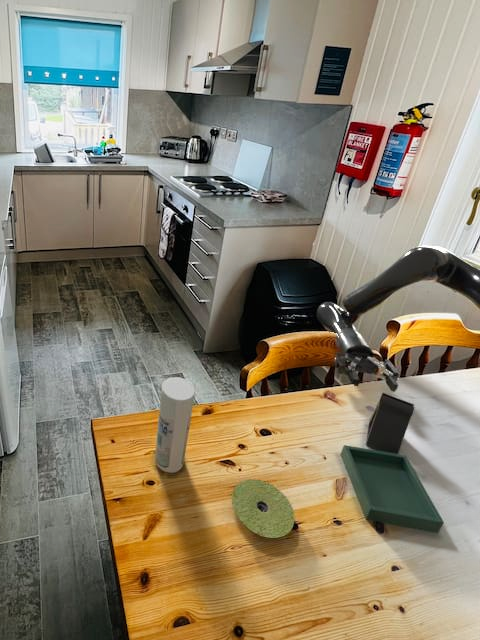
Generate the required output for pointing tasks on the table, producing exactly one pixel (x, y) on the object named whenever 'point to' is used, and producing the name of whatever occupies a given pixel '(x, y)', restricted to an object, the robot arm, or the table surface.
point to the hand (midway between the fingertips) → (376, 386)
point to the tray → (390, 489)
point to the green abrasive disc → (263, 508)
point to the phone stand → (389, 423)
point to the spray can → (174, 423)
